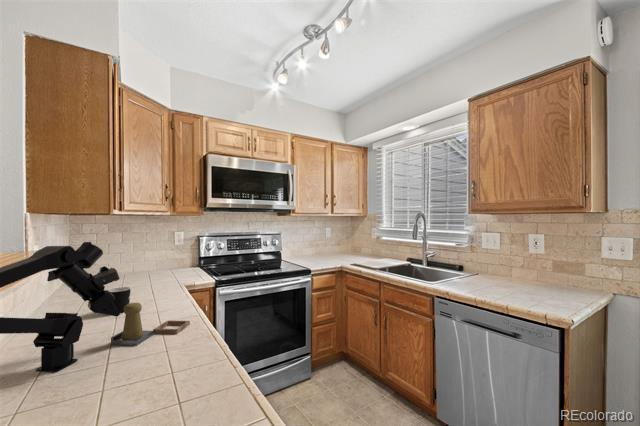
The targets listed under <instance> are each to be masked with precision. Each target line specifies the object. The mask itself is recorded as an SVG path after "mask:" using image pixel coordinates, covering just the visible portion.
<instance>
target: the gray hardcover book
mask: <svg viewBox="0 0 640 426" xmlns="http://www.w3.org/2000/svg"><path fill="white" fill-rule="evenodd" d="M142 331H143V335H141V336H139V337H137V338H133V339H123V338H122V336H123V330H122V331H121V332H118V333H117V334H114V335H113V336H110V345H111V346H138V345H140V344H141V343H144V342H145V341H147V340H148V339H149V338H151V337H153V336H154V334H153V330H142Z"/></svg>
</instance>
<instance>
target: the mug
mask: <svg viewBox="0 0 640 426" xmlns="http://www.w3.org/2000/svg"><path fill="white" fill-rule="evenodd" d="M107 290H108V291H109V292H110V293H111V294H113V295H114V297H115V299H114V301H113V304H114V305H115V307H116V308H117V310H118V311H119V313H120V314H125V313H124V307H125V306H126V305H127V304H130V301H131V287H130V286H119V287H114V288H113V287H112V288H108V289H107Z"/></svg>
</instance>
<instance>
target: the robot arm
mask: <svg viewBox="0 0 640 426" xmlns="http://www.w3.org/2000/svg"><path fill="white" fill-rule="evenodd" d="M103 255H104V252H103V250H102V248H100V247H98V246H97V245H96V244H93V243H92V241H84V242H82V244H81V245H80V246H79V247H78V248H76V249H74V247H72V246H71V245H46V246H44V247H43V248H41V249H39V250H37V251H35V252H33V254H32V255H30V256H29V257H27V258H24V259H22V260H19V261H15V262H12V263H10V264H7V265H5V266H1V267H0V289H2V288H4V287H6V286H9V285H11V284H13V283H16V282H19V281H21V280H23V279H26V278H29V277H30V276H33V275H36V274H38V273H41V272H44V271H48V272H47V273H48V275H47V279H46V281H47V282H52V281H55V280H60V281H61V282H62V283H63V284H65V285H66V286H67V287H68V288H69V289H71V291H72V292H73V293H75V294H77V295H78V296H79V297H80V298H81V299H82V300H83V301H84V302H87V307H88V309H89V310H90V311H91V312H92V313H94V314H101V315H108V316H112V317H116V318H117V317H119V316H120V315H121V313H119V311H118V310H117V308H116V307H115V305H114V304H113V301H114V299H115V297H114V295H113V294H111V293H110V292H109V291H108V289H107V290H105V288H106V285H108V284H110V283H113V282H117V281H119V280H120V279H121V278H120V276H119V272H118V270H117V269H116V268H114V267H110V268H108V267H107V265H106V266H105V265H104V266H102V267H99V272H97V273H96V274H94V275H93V274H92V273H90V272H87V269H90V268H91V267H92V266H94V264H95V263H97V261H98V260H99V259H100V258H101V257H102V256H103ZM85 269H86V270H85ZM49 270H50V271H49ZM83 327H84V322H83V317H82V316H80V315H79V313H76V312H71V313H69V312H45V316H44V317H43V318H32V317H31V318H28V317H5V316H3V317H1V316H0V334H3V335H4V334H5V335H6V334H7V335H8V334H9V335H10V334H37V336H36V337H35V338H34V340H33V341H32V342H33V345H34V347H35V348H41V350H40V351H41V353H40V354H41V355H40V357H41V359H40V361H41V363H40V366H39V367H38V368H36V369H35V372H49V373H50V372H53V373H58V372H60V371H61V370H62V369H64V368H65V369H66V367H69V366H70V365H72V364H74V363H76V362H78V358H74V355H75V354H74V352H75V350H74V349H75V346H74V344H75V343H78V342H79V341H80V337H81V334H82V330H83Z"/></svg>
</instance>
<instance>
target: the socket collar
mask: <svg viewBox="0 0 640 426" xmlns="http://www.w3.org/2000/svg"><path fill="white" fill-rule="evenodd" d="M190 325H191V321H190V320H166V321H165V322H163V323H161V324H160V325H158V326H156V327H154V328H153V329H152V331H153V335H155V334H157V335H158V334H159V335H161V334H162V335H178V334H179V333H180V332H181V331H183V330H185V329H186V328H188V327H189V326H190ZM168 326H178V327H177V328H166V327H168Z"/></svg>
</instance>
